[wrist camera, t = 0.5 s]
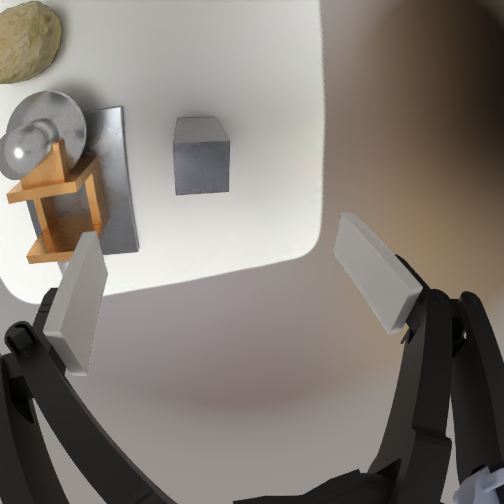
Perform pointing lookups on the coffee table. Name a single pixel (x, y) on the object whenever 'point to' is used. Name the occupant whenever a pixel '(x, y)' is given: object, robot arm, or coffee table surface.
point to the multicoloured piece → (69, 176)
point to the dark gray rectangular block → (200, 156)
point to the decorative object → (27, 41)
